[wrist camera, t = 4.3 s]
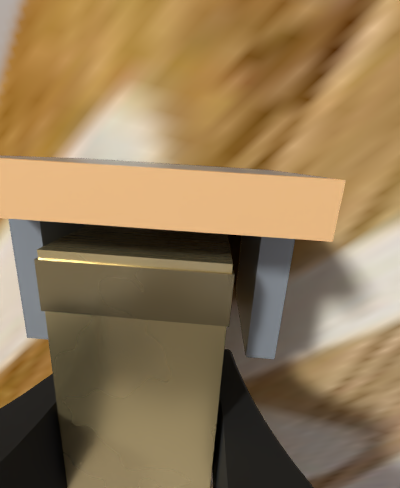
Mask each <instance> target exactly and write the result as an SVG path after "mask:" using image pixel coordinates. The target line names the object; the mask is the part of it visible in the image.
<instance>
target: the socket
mask: <svg viewBox="0 0 400 488" xmlns="http://www.w3.org/2000/svg"><path fill="white" fill-rule="evenodd" d="M345 181H346V180H340V179H333V178H325V177H318V176H310V175H303V174H295V173H288V172H281V171H273V170H260V169H244V168H228V167H212V166H195V165H179V164H163V163H147V162H131V161H115V160H99V159H83V158H54V157H23V156H0V218H7V219H9V225H10V231H11V237H12V244H13V250H14V256H15V263H16V269H17V276H18V282H19V288H20V295H21V301H22V307H23V314H24V320H25V327H26V333H27V338H38V339H48V332H47V324H46V316H45V311H41V307H40V300H39V292H38V285H37V277H36V270H35V262H34V259H36V258H38V254H37V249H39V248H41V247H43V246H45V245H47V244H49V243H51V242H54V241H56V240H58V239H60V238H62V237H64V236H66V235H68V234H70V233H72V232H74V231H76V230H78V229H80V228H82V227H84V226H86V225H89V224H91V225H105V226H119V227H133V228H147V229H161V230H175V231H189V232H203V233H217V234H232V235H242V236H241V245H240V254H239V264H238V273H237V282H236V297H237V304H238V310H239V317H240V323H241V330H242V336H243V342H244V349H245V355H246V357H254V358H266V359H275V353H276V347H277V341H278V336H279V330H280V324H281V318H282V312H283V306H284V301H285V295H286V289H287V283H288V277H289V271H290V266H291V260H292V254H293V248H294V242H295V239H302V240H316V241H330V242H333V237H334V233H335V228H336V223H337V219H338V214H339V209H340V205H341V200H342V195H343V191H344V186H345Z"/></svg>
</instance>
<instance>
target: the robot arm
mask: <svg viewBox="0 0 400 488" xmlns="http://www.w3.org/2000/svg"><path fill="white" fill-rule="evenodd" d="M212 473H213V488H314V487H313V486H312V485H311V484H310V483H309V481H308V480H307V479H306V478H305V476H304V475H303V474H302V473H301V471H300V470H299V469H298V468H297V466H296V465H295V464H294V462H293V461H292V460H291V458H290V457H289V456H288V454H287V453H286V451H285V450H284V449H283V447H282V446H281V444H280V443H279V441H278V440H277V439H276V437H275V436H274V434H273V433H272V431H271V430H270V428H269V426H268V425H267V423H266V422H265V420H264V418H263V417H262V415H261V413H260V412H259V410H258V408H257V406H256V405H255V403H254V401H253V399H252V397H251V395H250V393H249V391H248V389H247V387H246V386H245V384H244V381H243V379H242V377H241V375H240V373H239V370H238V368H237V366H236V363H235V360H234V358H233V354H232V352H231V351H230V350H225V349H224V355H223V365H222V375H221V385H220V394H219V404H218V414H217V424H216V434H215V443H214V453H213V463H212ZM0 488H67V479H66V471H65V463H64V456H63V448H62V440H61V432H60V425H59V417H58V409H57V402H56V394H55V386H54V378H53V374H51V375H50V376H49V377H47V378H46V379H44V380H43V381H41V382H40V383H39V384H37V385H36V386H34V387H33V388H31V389H30V390H29V391H27V392H26V393H24V394H23V395H21V396H20V397H18V398H17V399H15V400H13V401H12V402H10V403H9V404H7V405H5V406H4V407H2V408H1V409H0Z"/></svg>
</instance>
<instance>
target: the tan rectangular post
mask: <svg viewBox="0 0 400 488" xmlns="http://www.w3.org/2000/svg"><path fill="white" fill-rule="evenodd" d="M37 254H38V258H36V259H34V262H35V270H36V277H37V285H38V292H39V300H40V307H41V311H45V316H46V324H47V332H48V340H49V347H50V355H51V363H52V371H53V378H54V386H55V394H56V402H57V409H58V417H59V425H60V432H61V440H62V448H63V456H64V463H65V471H66V479H67V487H68V488H210V482H211V473H212V463H213V453H214V443H215V434H216V424H217V414H218V404H219V394H220V385H221V375H222V365H223V355H224V346H225V336H226V326H227V327H229V322H230V313H231V303H232V294H233V285H234V269H233V262H232V257H231V251H230V245H229V239H228V234H217V233H203V232H189V231H175V230H161V229H147V228H133V227H119V226H105V225H91V224H89V225H86V226H84V227H82V228H80V229H78V230H76V231H74V232H72V233H70V234H68V235H66V236H64V237H62V238H60V239H58V240H56V241H54V242H51V243H49V244H47V245H45V246H43V247H41V248H39V249H37Z"/></svg>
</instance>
